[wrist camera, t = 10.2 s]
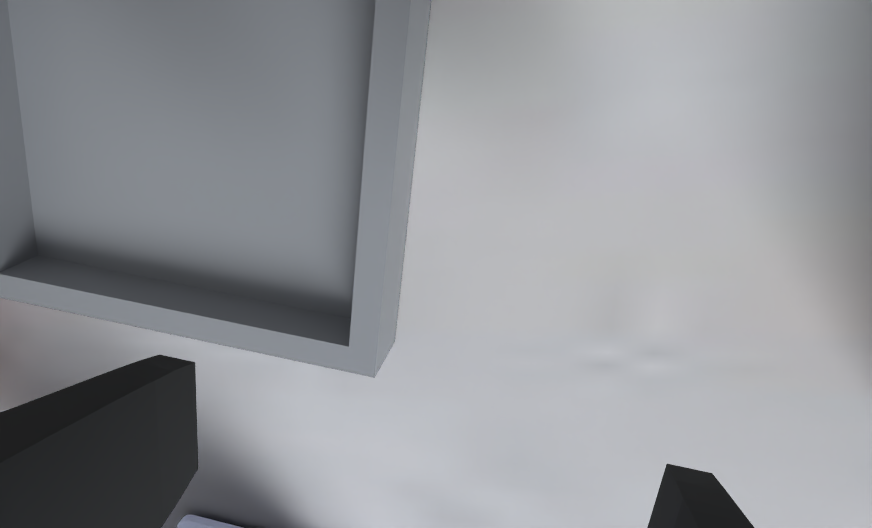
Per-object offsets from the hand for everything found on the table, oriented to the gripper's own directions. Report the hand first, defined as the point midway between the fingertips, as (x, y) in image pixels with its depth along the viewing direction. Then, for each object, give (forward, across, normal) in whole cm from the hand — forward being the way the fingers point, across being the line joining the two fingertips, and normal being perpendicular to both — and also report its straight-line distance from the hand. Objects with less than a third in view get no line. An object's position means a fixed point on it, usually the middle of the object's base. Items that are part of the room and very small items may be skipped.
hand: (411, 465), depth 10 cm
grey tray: (+9, +9, -3) cm, 13 cm away
